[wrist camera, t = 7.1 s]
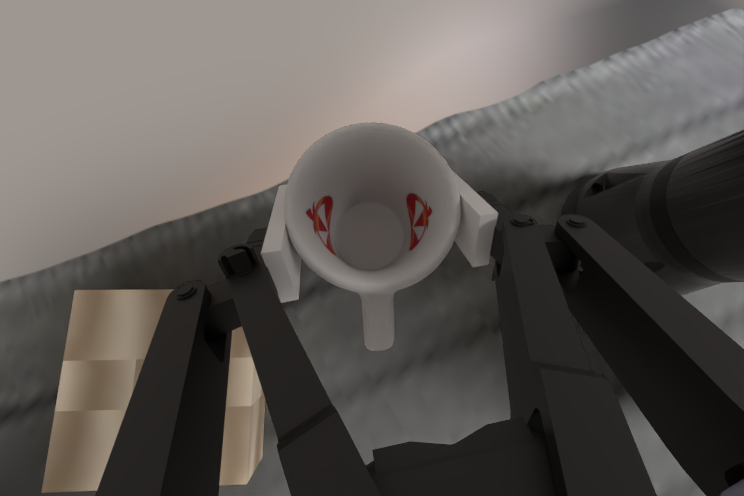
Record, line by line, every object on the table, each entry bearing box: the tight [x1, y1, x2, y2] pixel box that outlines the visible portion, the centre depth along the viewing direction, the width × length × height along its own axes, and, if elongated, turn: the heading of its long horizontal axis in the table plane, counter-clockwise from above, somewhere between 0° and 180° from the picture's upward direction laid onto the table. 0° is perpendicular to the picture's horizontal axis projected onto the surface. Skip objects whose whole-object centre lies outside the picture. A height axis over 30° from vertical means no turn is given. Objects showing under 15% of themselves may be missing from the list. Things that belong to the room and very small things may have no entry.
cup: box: [284, 123, 461, 351], centre depth 16 cm, size 11×8×8 cm
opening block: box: [41, 289, 265, 493], centre depth 26 cm, size 16×16×4 cm
